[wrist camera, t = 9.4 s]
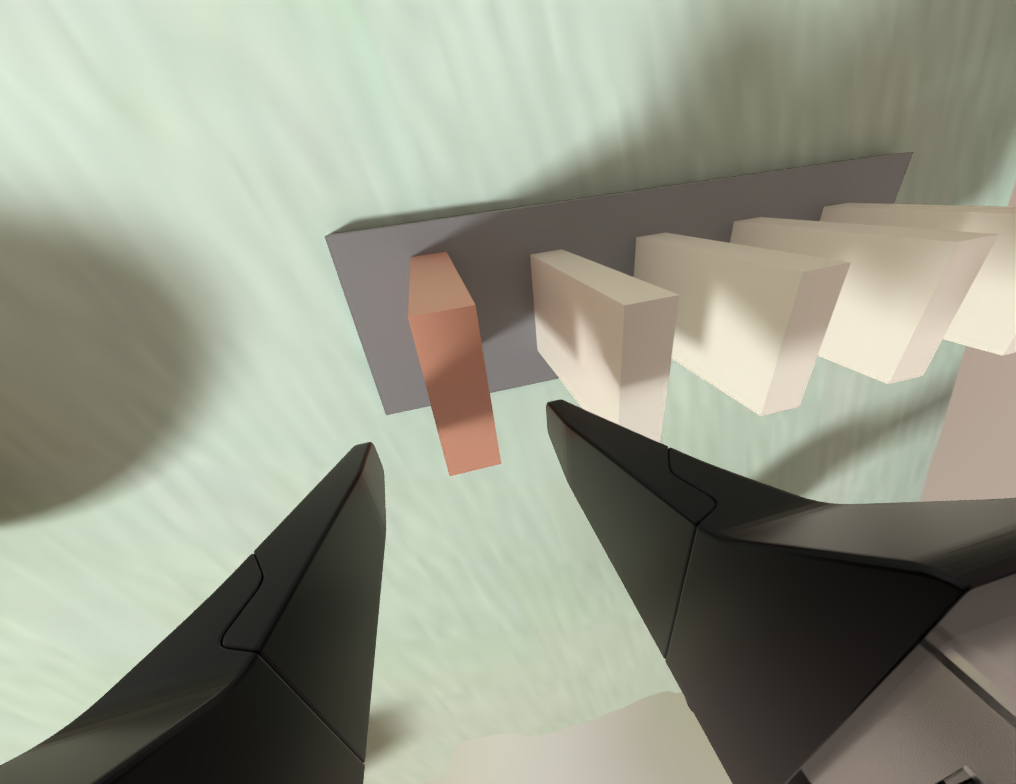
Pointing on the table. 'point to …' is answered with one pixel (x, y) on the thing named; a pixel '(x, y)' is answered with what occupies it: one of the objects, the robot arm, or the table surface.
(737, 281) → the domino
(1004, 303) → the domino
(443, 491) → the table surface
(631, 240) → the board
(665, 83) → the table surface
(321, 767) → the robot arm
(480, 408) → the brick domino
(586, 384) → the domino
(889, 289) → the domino
